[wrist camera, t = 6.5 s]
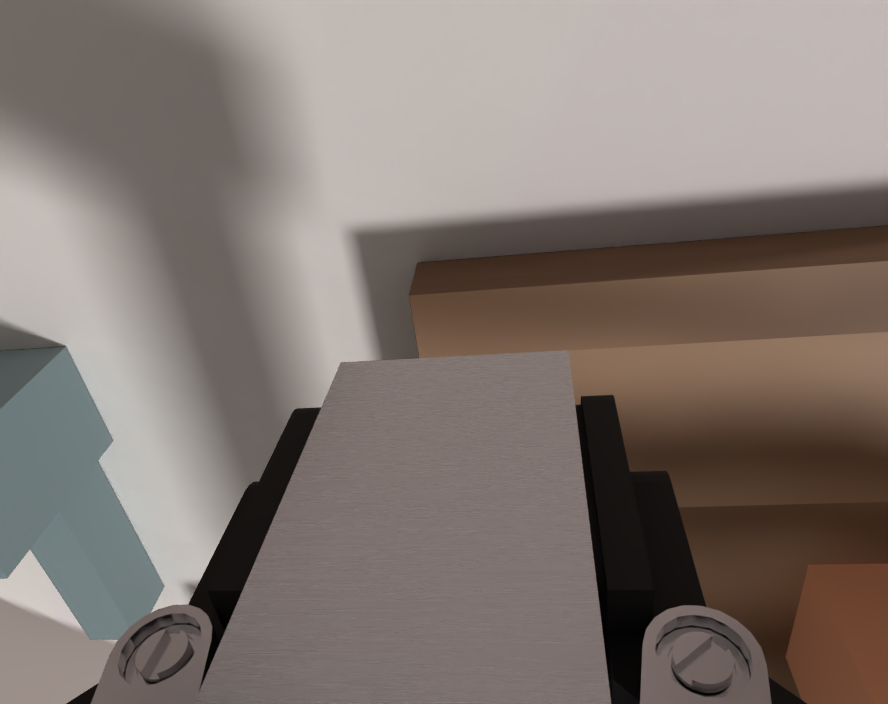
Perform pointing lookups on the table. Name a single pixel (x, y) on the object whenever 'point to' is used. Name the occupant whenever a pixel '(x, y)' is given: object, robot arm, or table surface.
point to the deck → (714, 389)
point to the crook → (427, 547)
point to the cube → (841, 635)
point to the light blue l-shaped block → (67, 495)
